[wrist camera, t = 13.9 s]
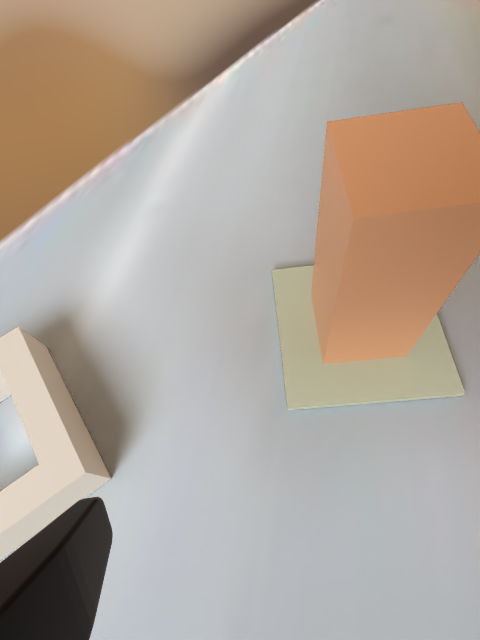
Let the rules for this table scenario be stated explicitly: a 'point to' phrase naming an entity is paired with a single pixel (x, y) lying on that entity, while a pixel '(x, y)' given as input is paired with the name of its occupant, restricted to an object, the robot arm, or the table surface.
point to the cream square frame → (43, 443)
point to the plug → (393, 227)
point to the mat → (355, 376)
